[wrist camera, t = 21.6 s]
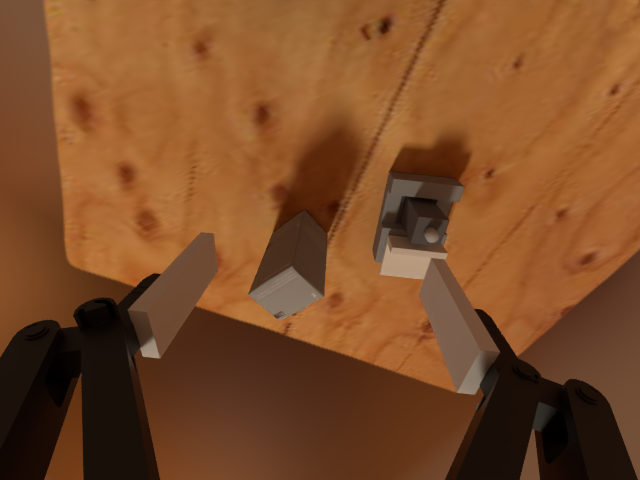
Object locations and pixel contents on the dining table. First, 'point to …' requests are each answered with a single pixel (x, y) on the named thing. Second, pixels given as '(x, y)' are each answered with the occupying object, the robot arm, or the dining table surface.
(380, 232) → the socket
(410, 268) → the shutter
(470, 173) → the dining table surface
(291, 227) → the skincare box
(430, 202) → the plug
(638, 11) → the dining table surface
